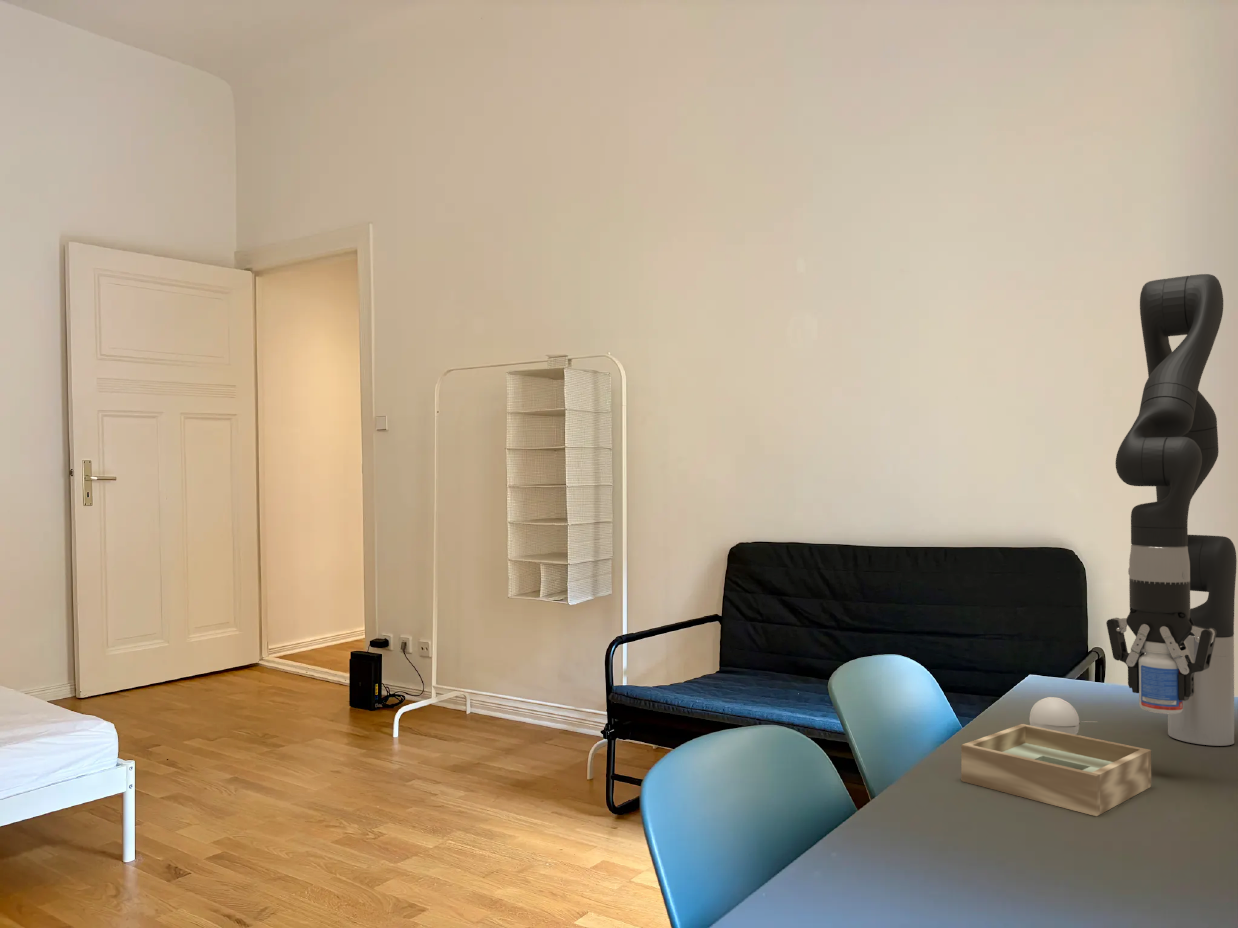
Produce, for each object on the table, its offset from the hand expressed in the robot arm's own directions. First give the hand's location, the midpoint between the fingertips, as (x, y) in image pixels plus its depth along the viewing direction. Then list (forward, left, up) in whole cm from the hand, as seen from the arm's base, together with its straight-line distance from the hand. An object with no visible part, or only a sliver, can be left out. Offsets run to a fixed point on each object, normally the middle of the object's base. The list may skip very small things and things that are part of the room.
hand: (1160, 695), depth 134 cm
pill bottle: (0, 0, -2) cm, 2 cm away
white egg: (-6, -16, -12) cm, 21 cm away
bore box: (+15, -8, -11) cm, 21 cm away
